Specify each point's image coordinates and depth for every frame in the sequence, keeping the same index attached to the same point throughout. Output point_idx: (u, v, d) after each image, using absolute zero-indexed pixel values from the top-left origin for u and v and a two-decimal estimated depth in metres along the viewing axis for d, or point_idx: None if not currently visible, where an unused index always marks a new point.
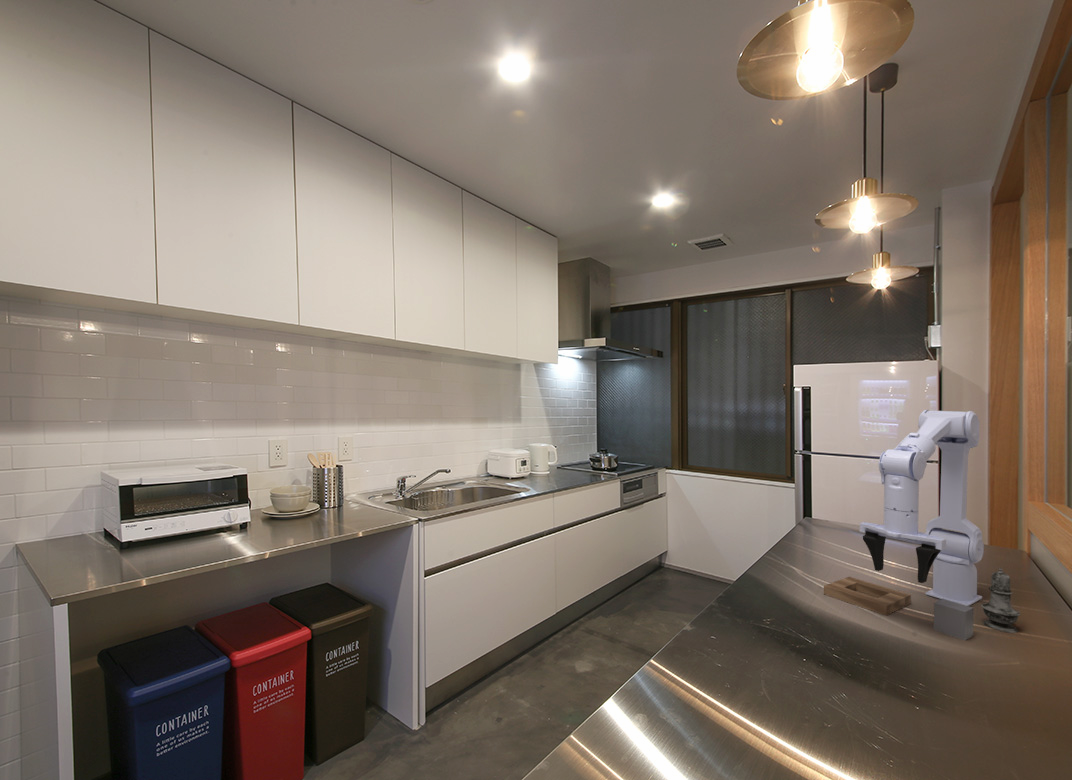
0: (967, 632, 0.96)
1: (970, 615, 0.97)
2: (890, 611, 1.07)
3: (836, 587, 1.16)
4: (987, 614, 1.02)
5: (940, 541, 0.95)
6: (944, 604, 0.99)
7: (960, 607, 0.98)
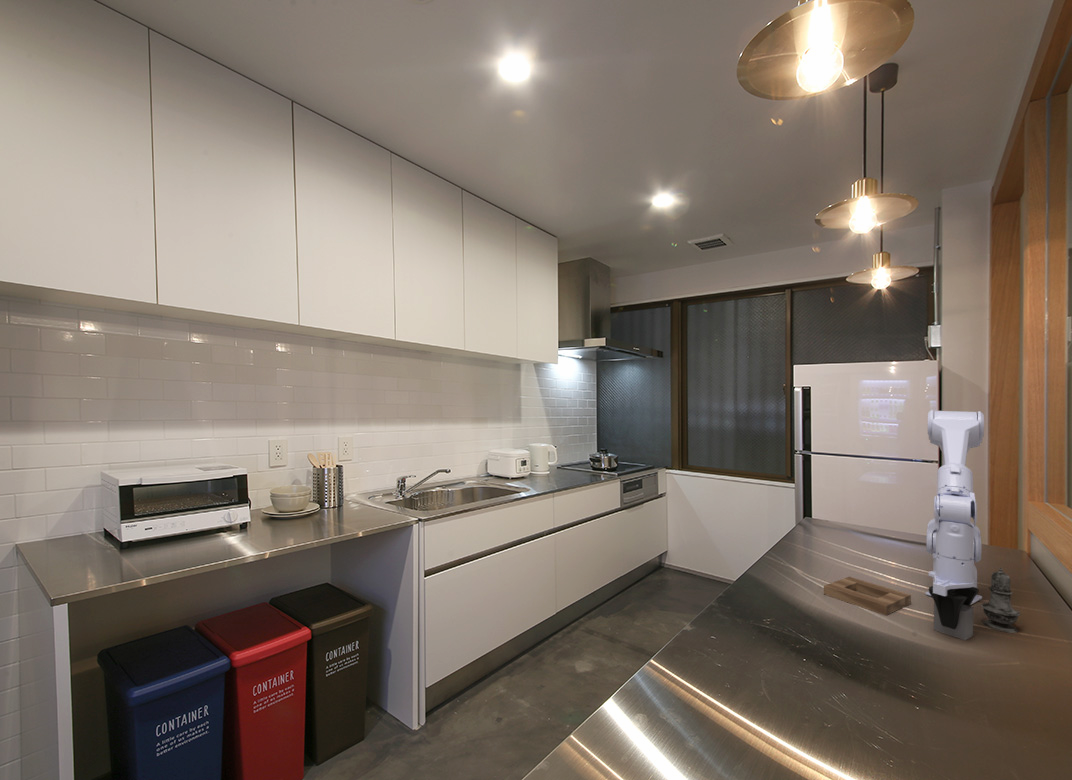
0: (967, 632, 0.96)
1: (970, 615, 0.97)
2: (890, 611, 1.07)
3: (836, 587, 1.16)
4: (987, 614, 1.02)
5: None
6: None
7: None
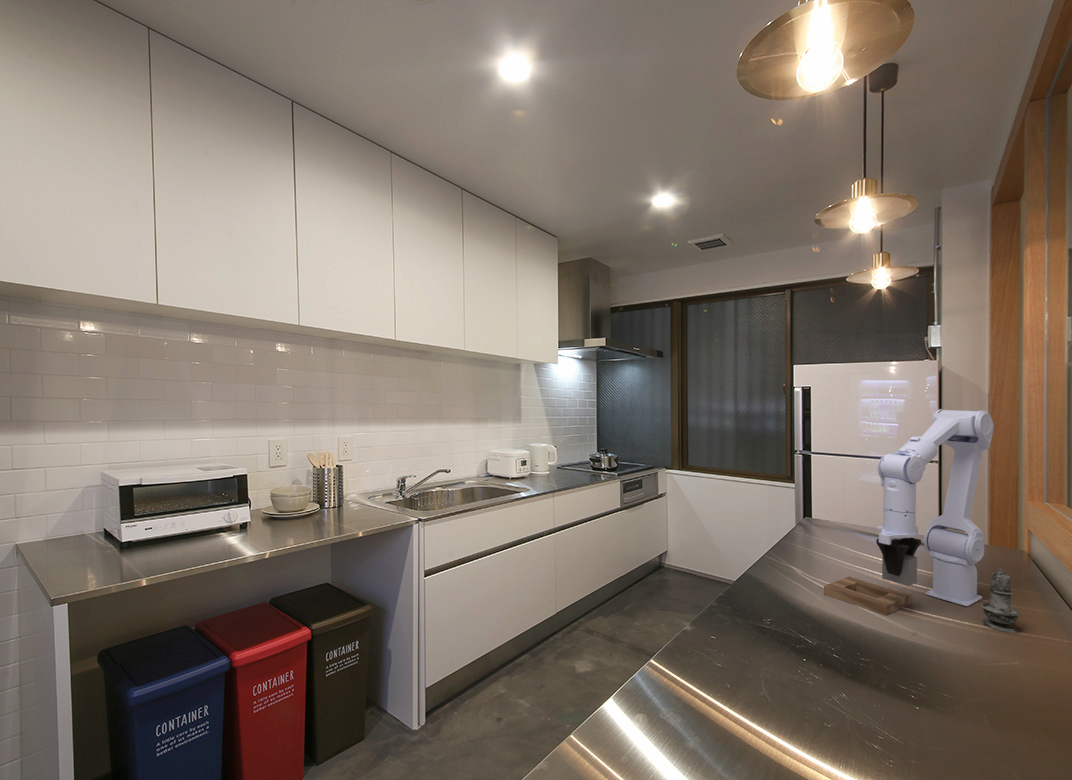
0: (911, 578, 1.06)
1: (914, 563, 1.07)
2: (890, 611, 1.07)
3: (836, 587, 1.16)
4: (987, 614, 1.02)
5: None
6: None
7: (905, 556, 1.07)
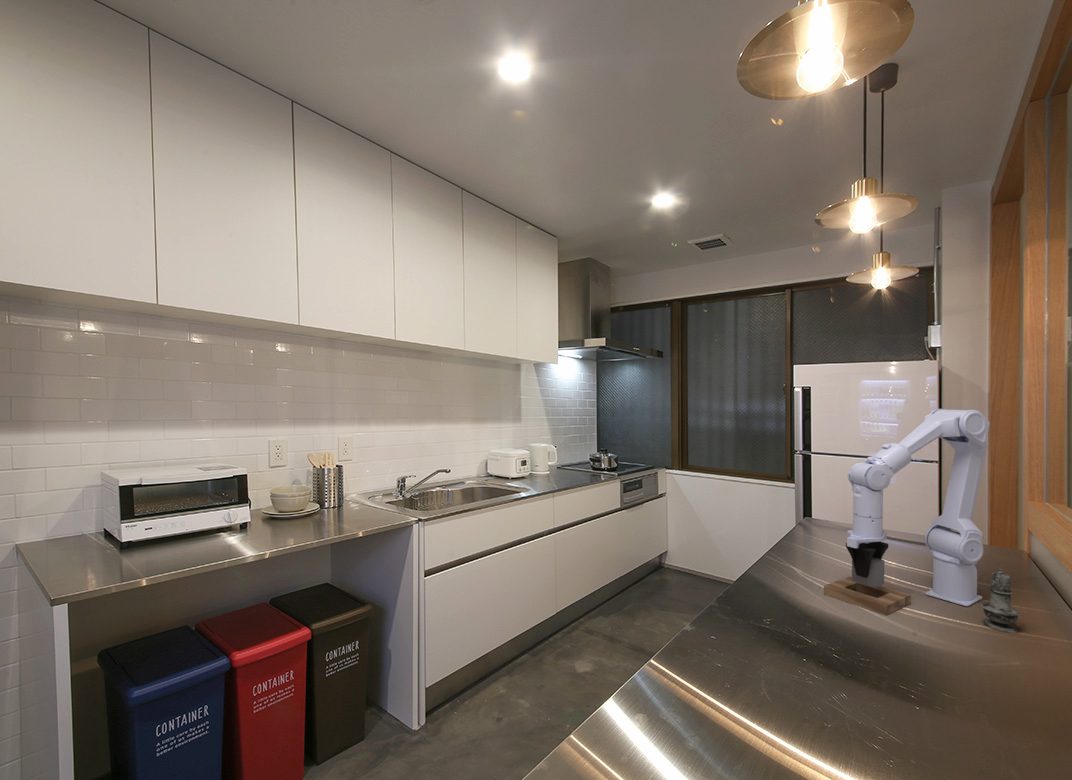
0: (878, 580, 1.12)
1: (881, 566, 1.13)
2: (890, 611, 1.07)
3: (836, 587, 1.16)
4: (987, 614, 1.02)
5: None
6: None
7: (873, 560, 1.14)
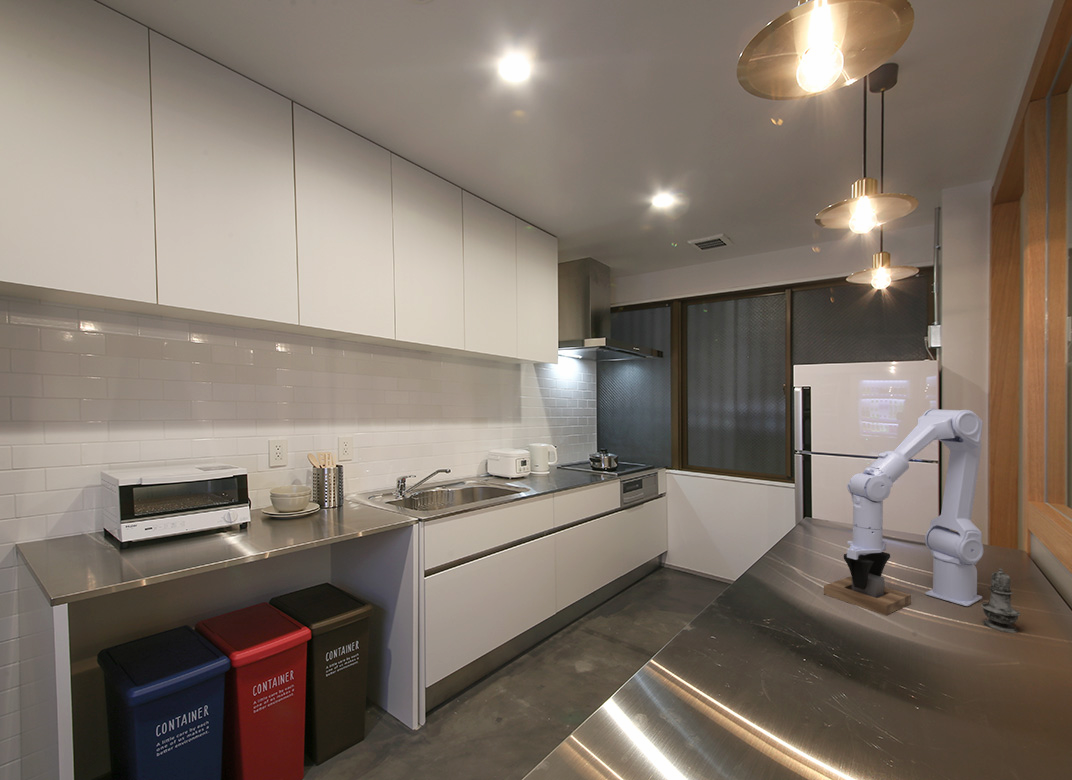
0: None
1: (881, 584, 1.13)
2: (890, 611, 1.07)
3: (836, 587, 1.16)
4: (987, 614, 1.02)
5: None
6: None
7: (873, 577, 1.14)
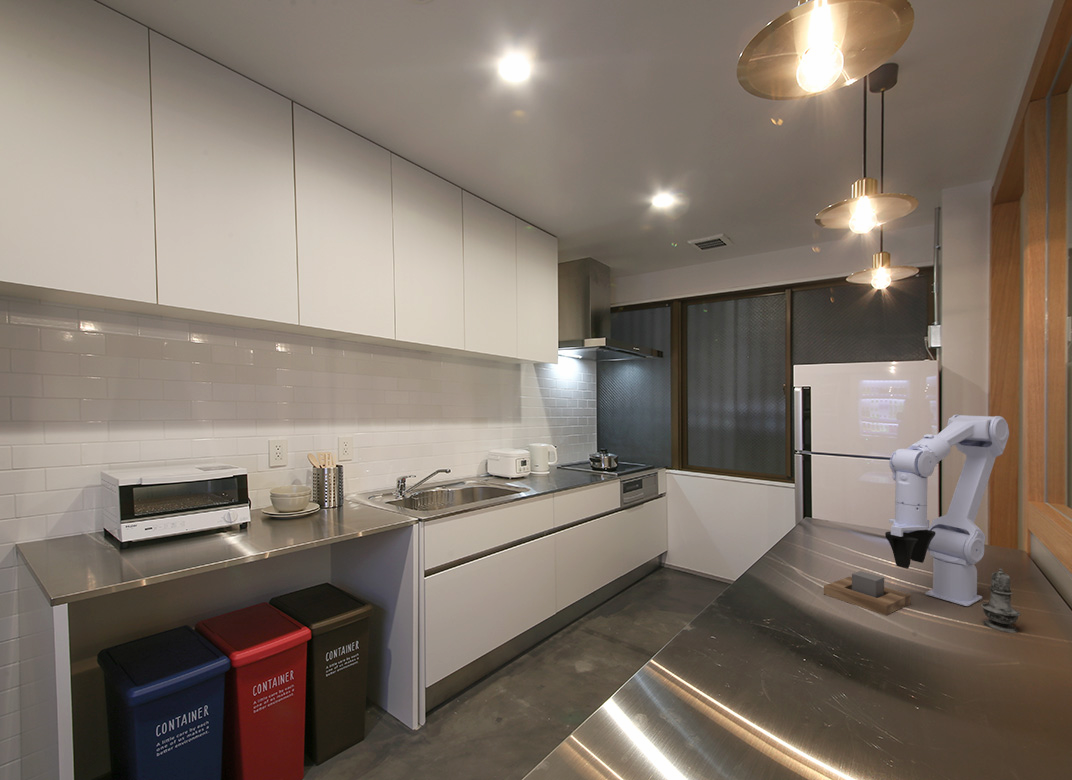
0: None
1: (881, 584, 1.13)
2: (890, 611, 1.07)
3: (836, 587, 1.16)
4: (987, 614, 1.02)
5: None
6: (860, 575, 1.15)
7: (873, 577, 1.14)
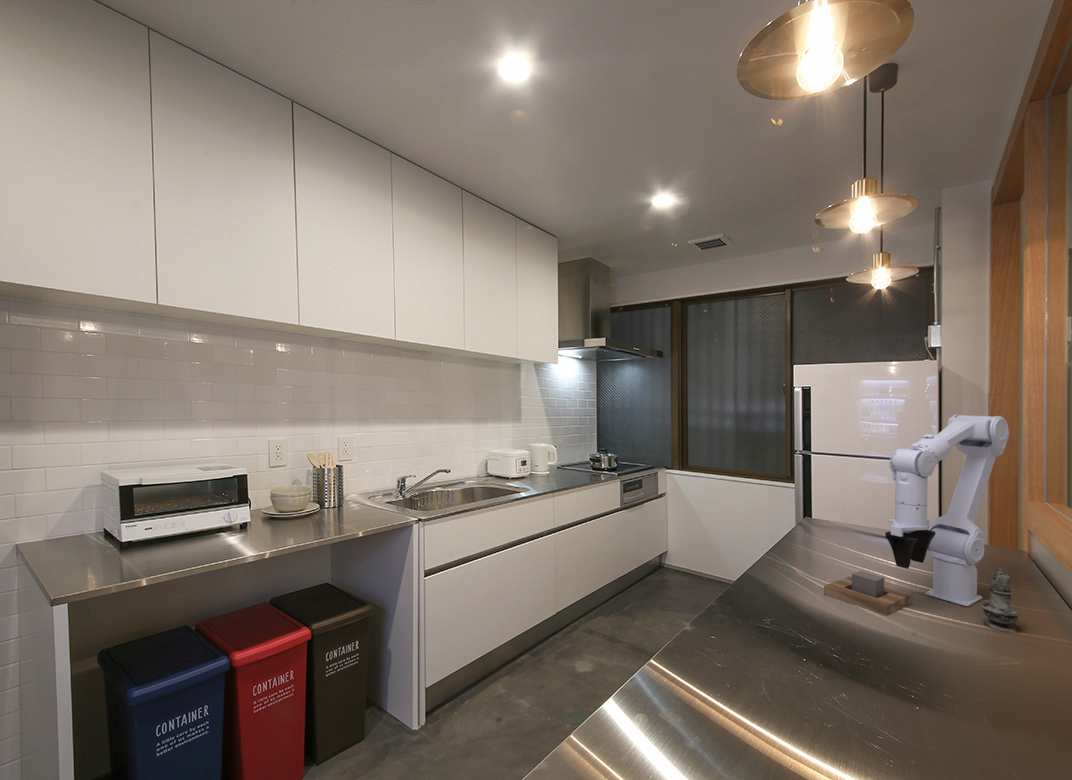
0: None
1: (881, 584, 1.13)
2: (890, 611, 1.07)
3: (836, 587, 1.16)
4: (987, 614, 1.02)
5: None
6: (860, 575, 1.15)
7: (873, 577, 1.14)
